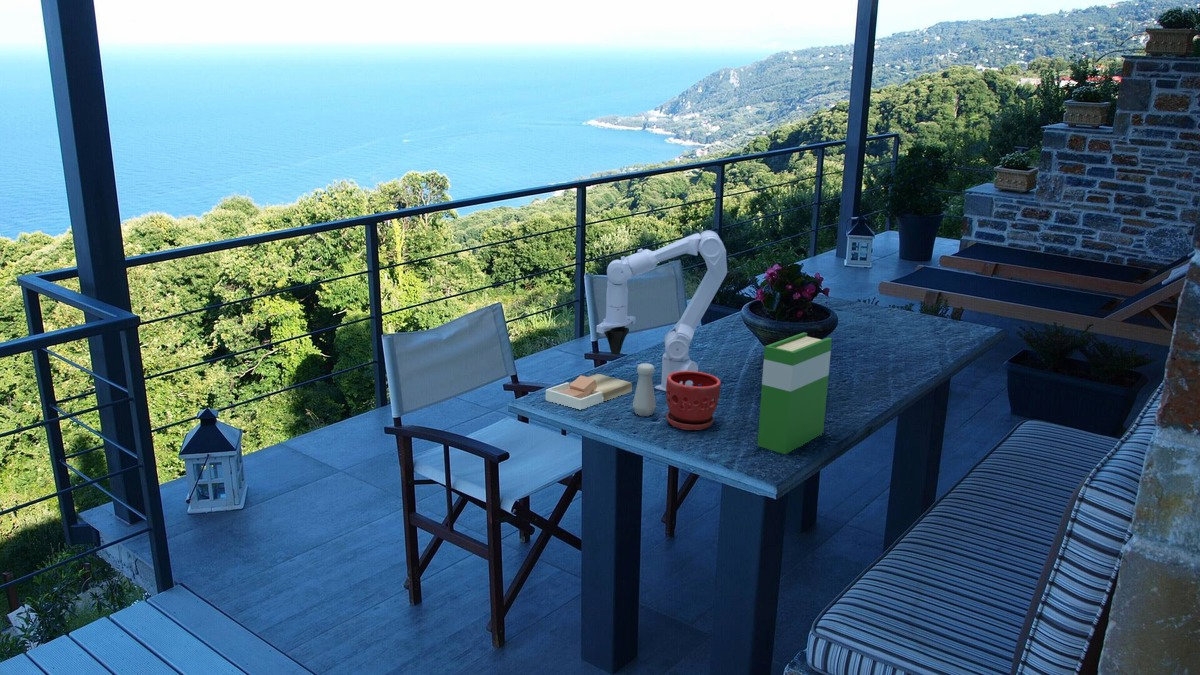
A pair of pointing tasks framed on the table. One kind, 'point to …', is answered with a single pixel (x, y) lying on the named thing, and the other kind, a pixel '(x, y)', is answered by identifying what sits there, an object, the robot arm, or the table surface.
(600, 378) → the board
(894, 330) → the table surface
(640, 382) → the salt shaker
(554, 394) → the box
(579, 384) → the tile rear
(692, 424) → the plant pot
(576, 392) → the tile front
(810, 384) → the hardback book
